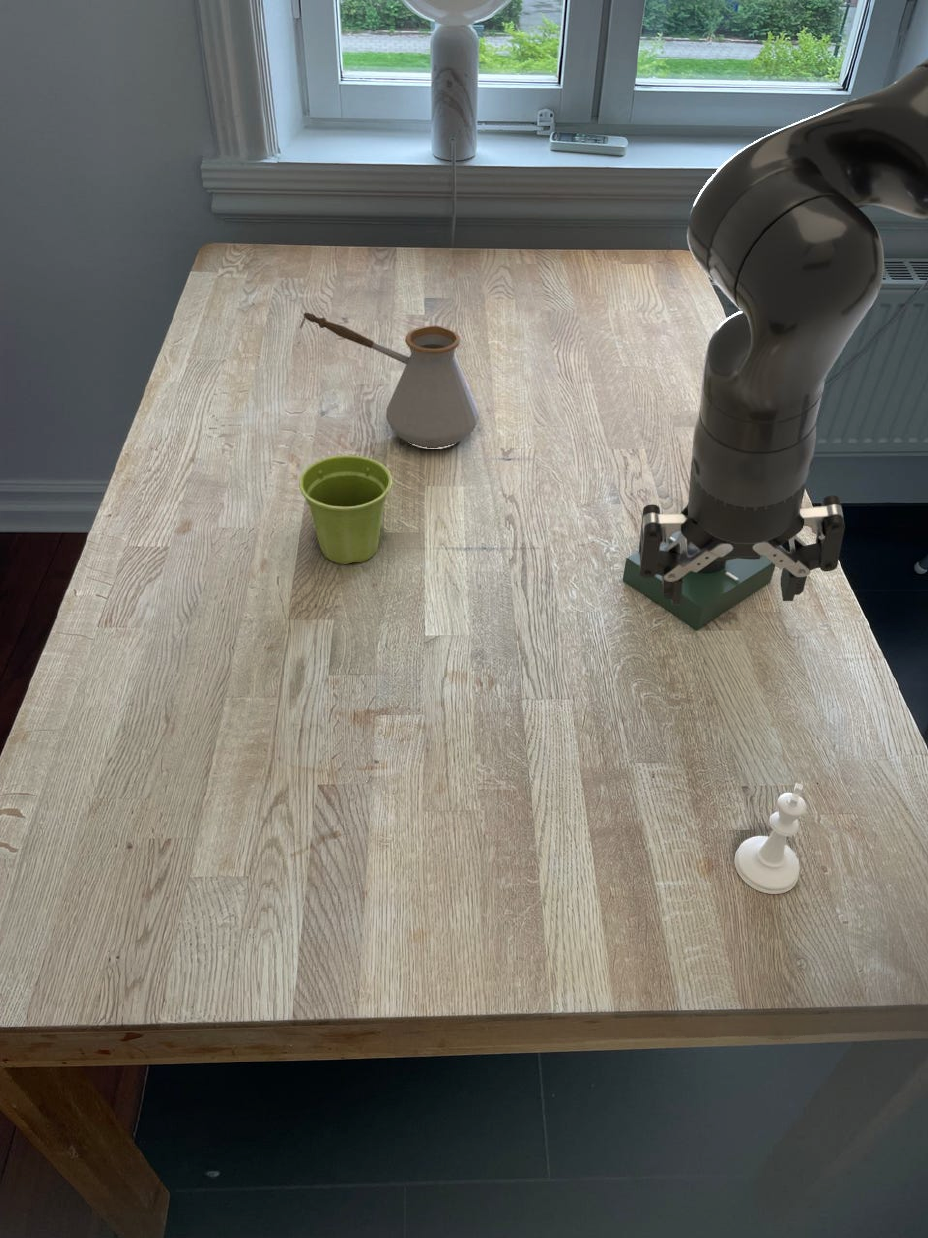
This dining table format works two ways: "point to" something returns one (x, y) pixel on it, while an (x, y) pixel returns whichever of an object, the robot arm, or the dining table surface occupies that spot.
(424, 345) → the coffee pot
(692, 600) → the panel
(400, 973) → the dining table surface
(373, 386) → the dining table surface
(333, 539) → the plant pot
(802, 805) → the chess piece
